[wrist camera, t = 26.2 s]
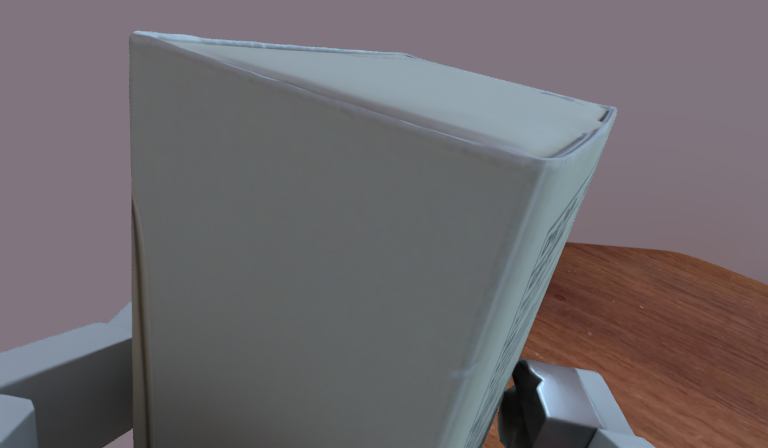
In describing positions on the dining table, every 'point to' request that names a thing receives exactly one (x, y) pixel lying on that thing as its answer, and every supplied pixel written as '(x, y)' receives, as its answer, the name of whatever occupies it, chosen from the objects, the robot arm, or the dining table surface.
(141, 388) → the cosmetic box
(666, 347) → the dining table surface
